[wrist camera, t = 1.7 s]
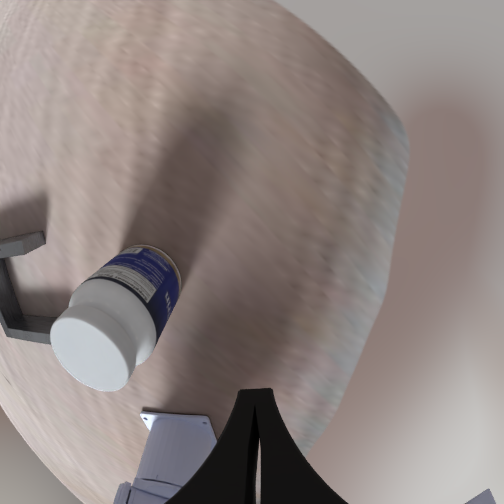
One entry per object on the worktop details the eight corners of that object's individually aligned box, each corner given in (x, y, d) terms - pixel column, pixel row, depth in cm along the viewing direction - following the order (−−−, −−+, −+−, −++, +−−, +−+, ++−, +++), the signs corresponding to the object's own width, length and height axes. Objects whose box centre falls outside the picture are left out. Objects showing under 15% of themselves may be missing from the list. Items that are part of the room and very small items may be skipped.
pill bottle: (167, 322, 21) (125, 414, 12) (108, 288, 20) (40, 361, 11) (195, 265, 20) (152, 351, 10) (129, 228, 19) (44, 284, 9)
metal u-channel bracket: (72, 328, 22) (58, 345, 19) (21, 323, 22) (6, 336, 19) (42, 230, 19) (21, 240, 16) (-6, 241, 19) (-24, 250, 16)
